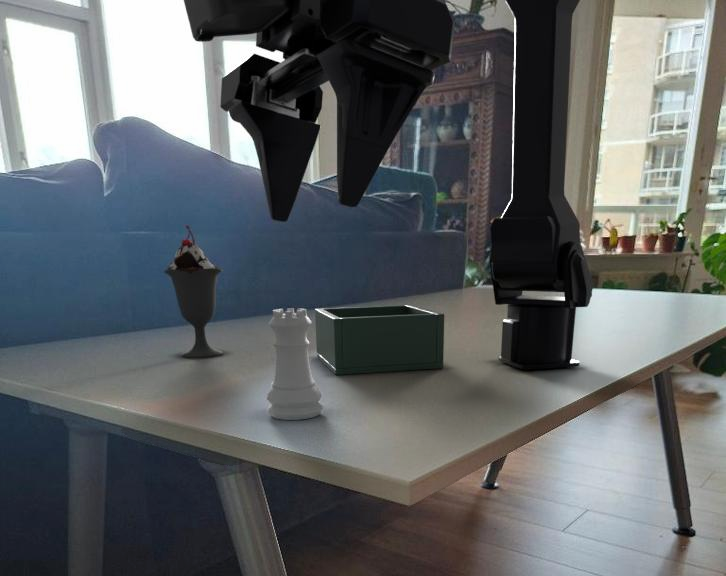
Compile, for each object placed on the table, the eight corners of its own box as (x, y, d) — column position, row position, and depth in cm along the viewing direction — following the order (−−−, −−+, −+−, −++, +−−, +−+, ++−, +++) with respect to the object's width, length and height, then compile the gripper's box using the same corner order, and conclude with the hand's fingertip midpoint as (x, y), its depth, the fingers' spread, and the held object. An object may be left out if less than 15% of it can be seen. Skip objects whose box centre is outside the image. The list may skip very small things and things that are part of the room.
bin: (411, 352, 81) (411, 304, 79) (443, 368, 70) (444, 313, 68) (316, 357, 78) (314, 308, 77) (335, 375, 68) (333, 318, 66)
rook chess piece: (316, 421, 50) (311, 312, 47) (259, 420, 51) (251, 313, 48) (328, 407, 54) (325, 307, 52) (275, 406, 55) (269, 307, 52)
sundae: (206, 348, 87) (194, 225, 82) (240, 353, 83) (229, 223, 78) (163, 355, 82) (147, 225, 77) (197, 360, 78) (182, 223, 73)
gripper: (149, -54, 42) (142, 206, 46) (275, -251, 27) (251, 159, 30) (304, 8, 48) (288, 234, 52) (478, -124, 33) (440, 207, 36)
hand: (310, 214), depth 42 cm, fingers open, 9 cm apart
